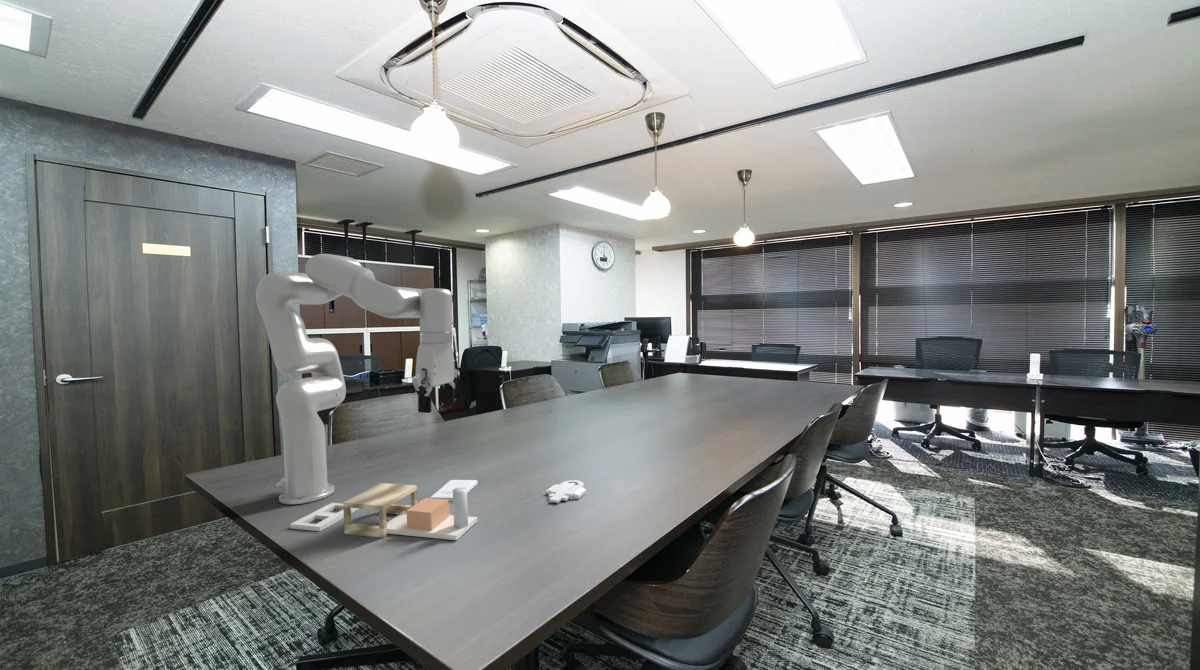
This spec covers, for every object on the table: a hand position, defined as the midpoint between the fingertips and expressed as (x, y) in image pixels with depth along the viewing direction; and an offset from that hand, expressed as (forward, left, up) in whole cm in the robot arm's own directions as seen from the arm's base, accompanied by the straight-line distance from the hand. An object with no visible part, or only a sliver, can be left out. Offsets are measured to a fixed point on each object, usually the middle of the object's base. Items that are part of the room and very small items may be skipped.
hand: (437, 408), depth 114 cm
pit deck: (-24, -11, -25) cm, 36 cm away
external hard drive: (-2, +10, -26) cm, 28 cm away
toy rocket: (+29, +15, -26) cm, 41 cm away
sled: (+4, -11, -25) cm, 27 cm away
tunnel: (-8, -11, -25) cm, 28 cm away
